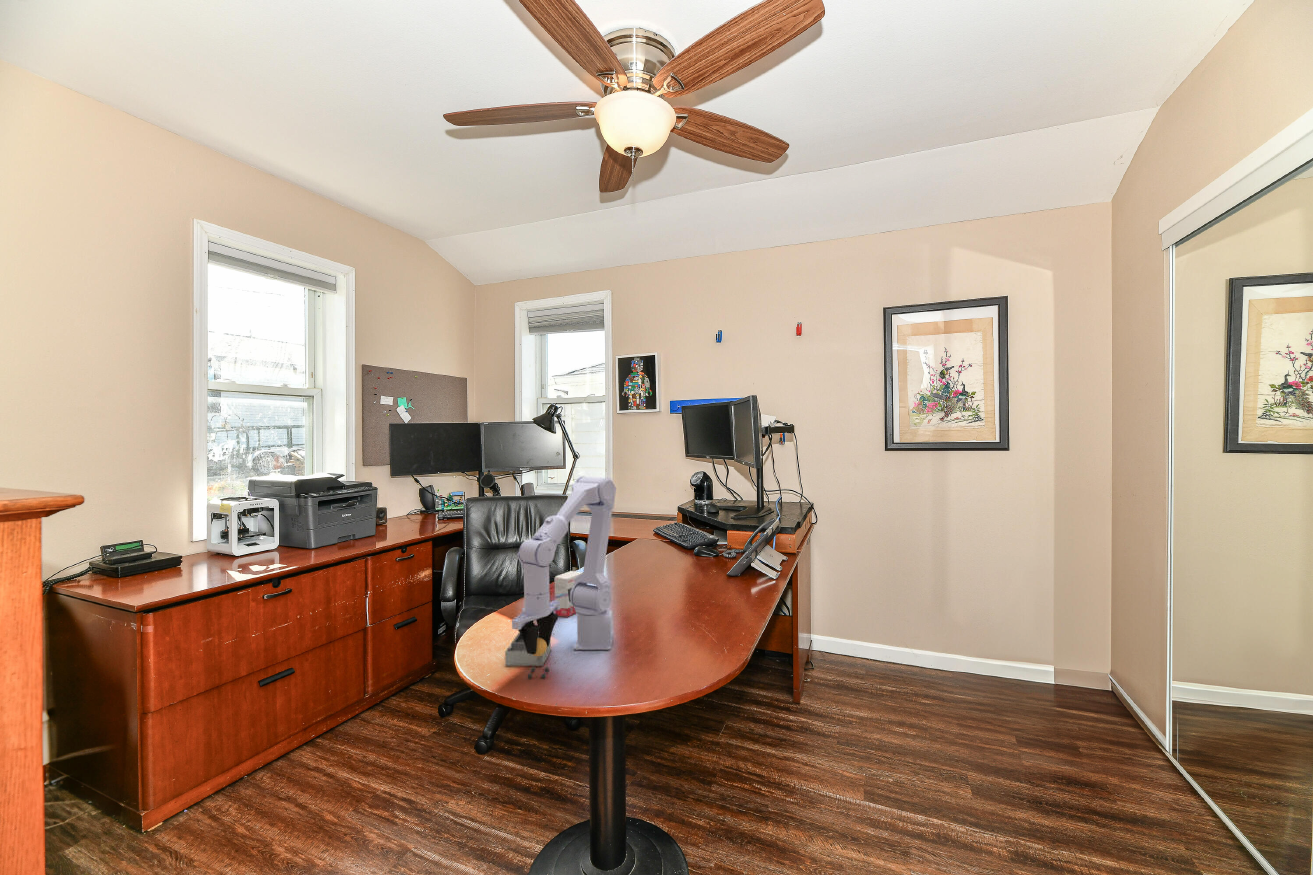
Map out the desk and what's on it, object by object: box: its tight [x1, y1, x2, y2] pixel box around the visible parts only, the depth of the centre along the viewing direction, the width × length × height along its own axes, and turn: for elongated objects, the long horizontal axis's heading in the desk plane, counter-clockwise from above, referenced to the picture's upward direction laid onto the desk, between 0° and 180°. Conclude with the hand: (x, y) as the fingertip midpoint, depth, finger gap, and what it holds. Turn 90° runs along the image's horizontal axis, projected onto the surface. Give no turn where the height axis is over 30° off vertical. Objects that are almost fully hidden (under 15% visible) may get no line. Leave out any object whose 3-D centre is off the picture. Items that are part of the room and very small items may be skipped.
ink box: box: [554, 570, 583, 618], centre depth 164 cm, size 9×5×12 cm, turn 150°
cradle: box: [526, 666, 550, 680], centre depth 123 cm, size 4×4×1 cm
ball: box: [532, 638, 547, 656], centre depth 123 cm, size 4×4×4 cm
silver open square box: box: [504, 632, 552, 667], centre depth 132 cm, size 9×9×5 cm
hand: (538, 649), depth 123 cm, fingers closed on ball, 4 cm apart
